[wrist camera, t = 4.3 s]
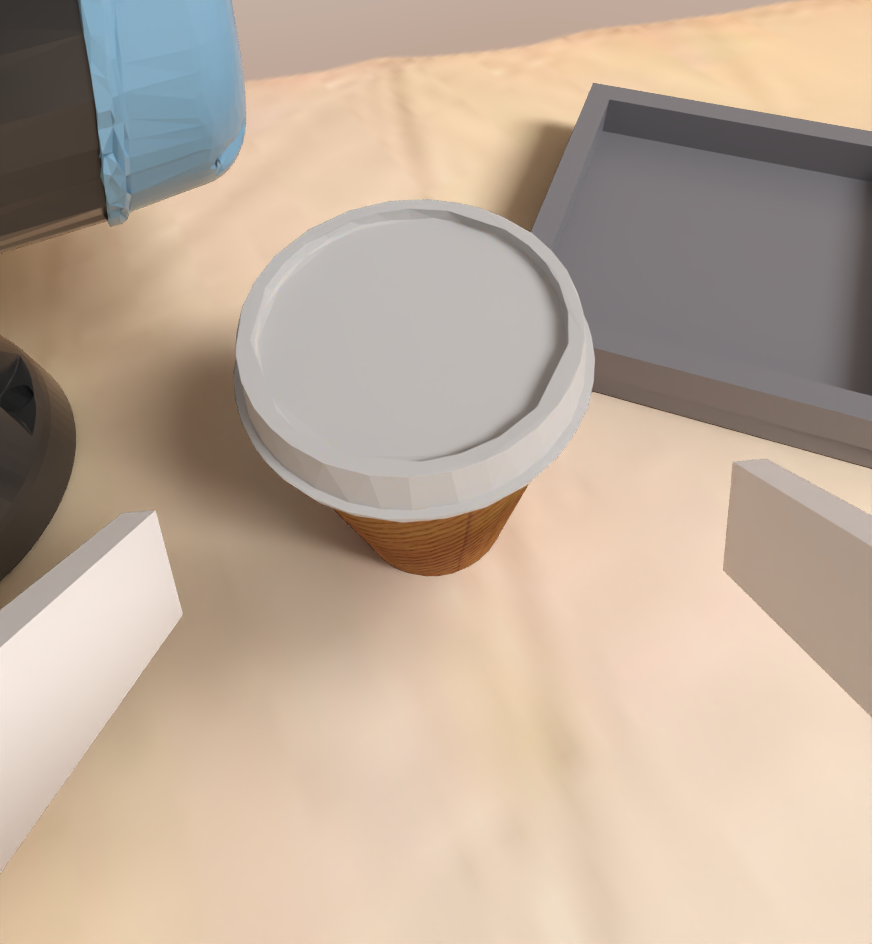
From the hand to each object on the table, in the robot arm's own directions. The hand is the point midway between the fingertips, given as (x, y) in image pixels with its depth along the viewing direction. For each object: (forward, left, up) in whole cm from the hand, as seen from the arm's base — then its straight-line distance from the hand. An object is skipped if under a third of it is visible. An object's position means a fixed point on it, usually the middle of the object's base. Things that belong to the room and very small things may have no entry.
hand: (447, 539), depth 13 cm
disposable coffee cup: (-3, +4, -11) cm, 12 cm away
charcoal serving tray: (+6, +21, -10) cm, 25 cm away
